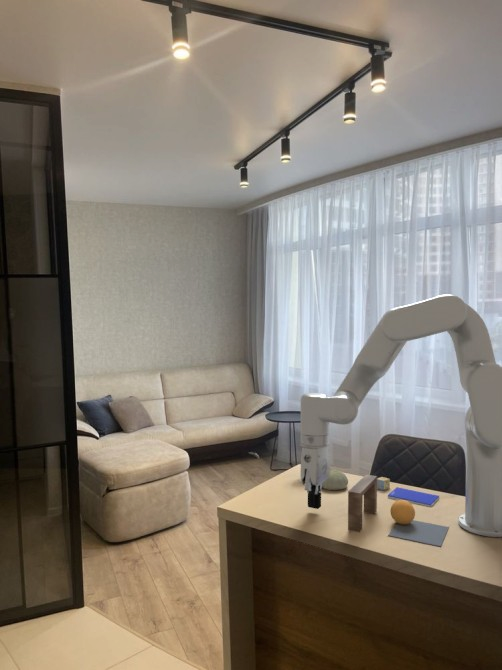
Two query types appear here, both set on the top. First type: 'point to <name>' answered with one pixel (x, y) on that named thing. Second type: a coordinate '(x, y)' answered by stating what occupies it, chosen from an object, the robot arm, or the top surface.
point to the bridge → (361, 501)
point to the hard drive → (413, 496)
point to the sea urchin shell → (335, 481)
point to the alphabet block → (383, 483)
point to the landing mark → (420, 532)
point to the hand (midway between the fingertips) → (314, 506)
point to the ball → (402, 512)
